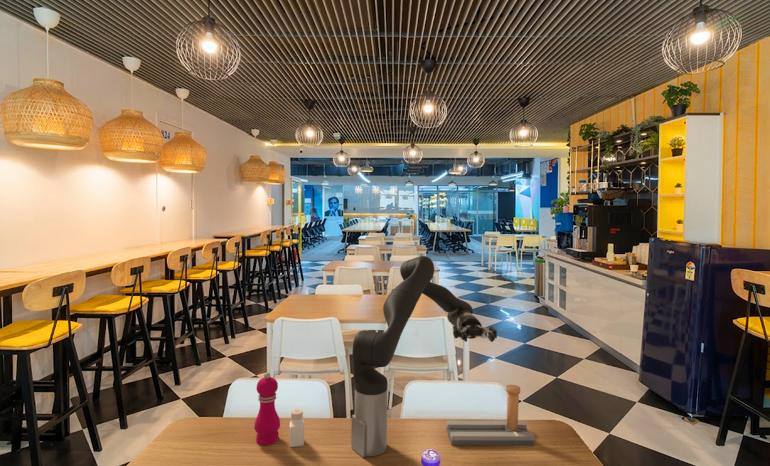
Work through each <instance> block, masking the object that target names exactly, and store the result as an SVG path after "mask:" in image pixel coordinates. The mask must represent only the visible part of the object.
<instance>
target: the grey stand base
mask: <svg viewBox="0 0 770 466" xmlns="http://www.w3.org/2000/svg"><path fill="white" fill-rule="evenodd" d="M504 425H507V420H446V433H447V435H448V438H449V442H450V444H451V446H535V439H536V438H535V434H533V432H532V431H529V430H528V429H527V425H528V424H527V423H526V422H525V420H518V429H519V430H520V432H506V431H505V429H504Z"/></svg>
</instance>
